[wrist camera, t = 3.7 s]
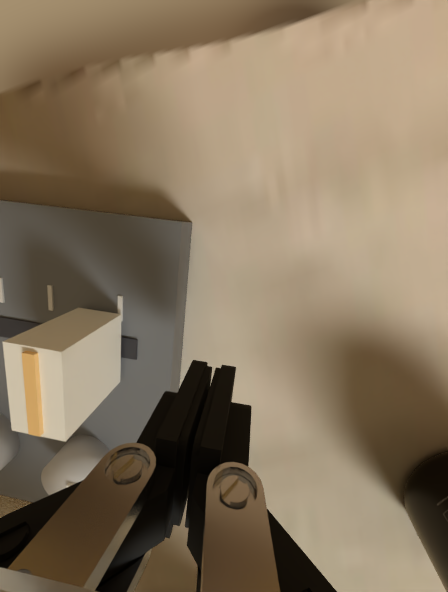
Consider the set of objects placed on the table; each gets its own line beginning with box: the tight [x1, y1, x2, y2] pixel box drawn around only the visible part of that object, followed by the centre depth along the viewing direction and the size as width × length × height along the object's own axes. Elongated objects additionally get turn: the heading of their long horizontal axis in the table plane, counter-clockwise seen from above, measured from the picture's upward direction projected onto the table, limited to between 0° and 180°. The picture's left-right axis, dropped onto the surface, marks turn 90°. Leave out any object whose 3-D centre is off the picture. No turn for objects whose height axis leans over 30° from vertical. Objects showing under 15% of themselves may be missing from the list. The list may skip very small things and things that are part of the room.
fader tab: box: [3, 308, 121, 442], centre depth 13 cm, size 2×4×5 cm, turn 174°
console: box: [0, 200, 192, 503], centre depth 16 cm, size 18×20×5 cm
